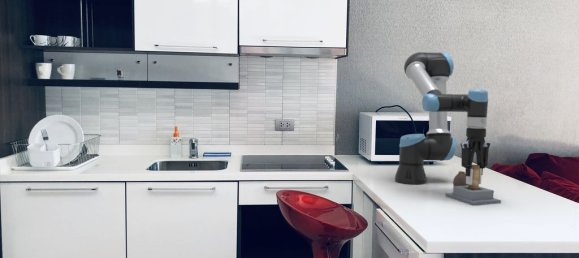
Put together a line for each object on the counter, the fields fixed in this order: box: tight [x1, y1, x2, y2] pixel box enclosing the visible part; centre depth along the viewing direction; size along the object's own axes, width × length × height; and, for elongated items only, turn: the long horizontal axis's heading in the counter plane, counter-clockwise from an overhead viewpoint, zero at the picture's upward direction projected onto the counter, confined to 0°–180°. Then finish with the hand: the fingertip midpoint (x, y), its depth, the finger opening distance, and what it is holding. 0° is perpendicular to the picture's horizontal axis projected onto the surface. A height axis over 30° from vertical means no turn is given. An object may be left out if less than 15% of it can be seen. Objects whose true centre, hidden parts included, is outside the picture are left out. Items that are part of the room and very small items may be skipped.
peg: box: [468, 164, 480, 190], centre depth 185 cm, size 4×4×12 cm
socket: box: [445, 185, 502, 206], centre depth 186 cm, size 16×14×5 cm
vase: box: [452, 170, 468, 187], centre depth 202 cm, size 7×7×9 cm
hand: (473, 183), depth 186 cm, fingers closed on peg, 4 cm apart
